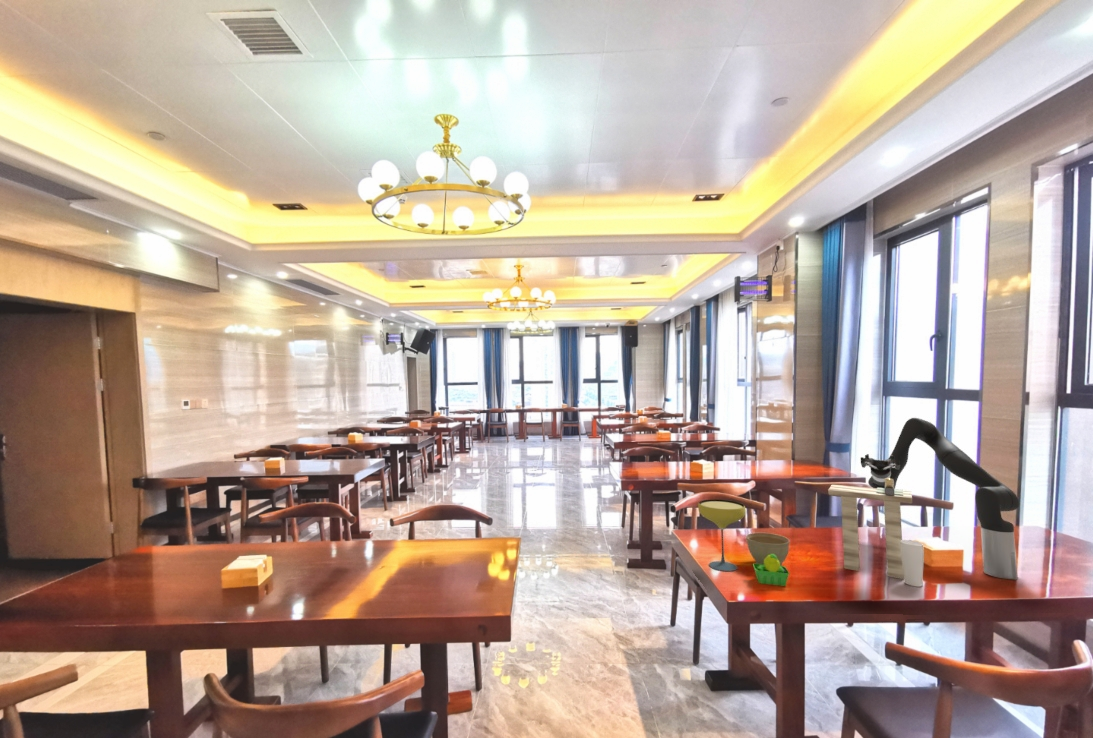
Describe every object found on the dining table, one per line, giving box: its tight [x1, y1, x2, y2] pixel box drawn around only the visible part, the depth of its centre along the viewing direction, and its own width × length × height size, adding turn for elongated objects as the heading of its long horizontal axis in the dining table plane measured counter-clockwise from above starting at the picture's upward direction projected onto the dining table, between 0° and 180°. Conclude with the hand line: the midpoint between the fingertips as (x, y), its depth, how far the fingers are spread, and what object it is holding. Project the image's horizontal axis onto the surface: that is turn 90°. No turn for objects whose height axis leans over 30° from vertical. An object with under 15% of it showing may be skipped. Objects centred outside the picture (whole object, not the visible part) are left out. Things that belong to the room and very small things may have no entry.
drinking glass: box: [900, 539, 925, 588], centre depth 169 cm, size 7×7×15 cm
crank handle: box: [885, 478, 894, 495], centre depth 180 cm, size 22×3×6 cm, turn 143°
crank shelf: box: [827, 484, 913, 580], centre depth 179 cm, size 14×26×32 cm, turn 53°
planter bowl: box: [745, 532, 790, 566], centre depth 190 cm, size 16×16×11 cm
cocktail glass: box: [697, 499, 746, 572], centre depth 189 cm, size 18×18×25 cm
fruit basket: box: [752, 554, 790, 587], centre depth 172 cm, size 11×9×11 cm
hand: (879, 456), depth 202 cm, fingers open, 8 cm apart
